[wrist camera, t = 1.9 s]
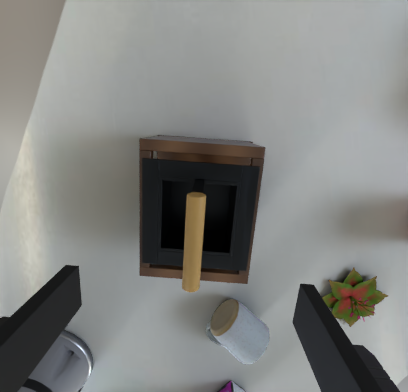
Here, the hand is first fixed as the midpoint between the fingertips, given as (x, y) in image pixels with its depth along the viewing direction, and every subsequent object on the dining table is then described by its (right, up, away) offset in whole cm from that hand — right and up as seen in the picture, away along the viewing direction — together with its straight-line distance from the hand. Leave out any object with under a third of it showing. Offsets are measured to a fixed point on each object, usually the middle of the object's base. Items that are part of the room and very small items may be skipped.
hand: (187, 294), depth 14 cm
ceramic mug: (+6, -18, +32) cm, 37 cm away
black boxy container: (0, +5, +19) cm, 20 cm away
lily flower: (+28, -12, +30) cm, 43 cm away
